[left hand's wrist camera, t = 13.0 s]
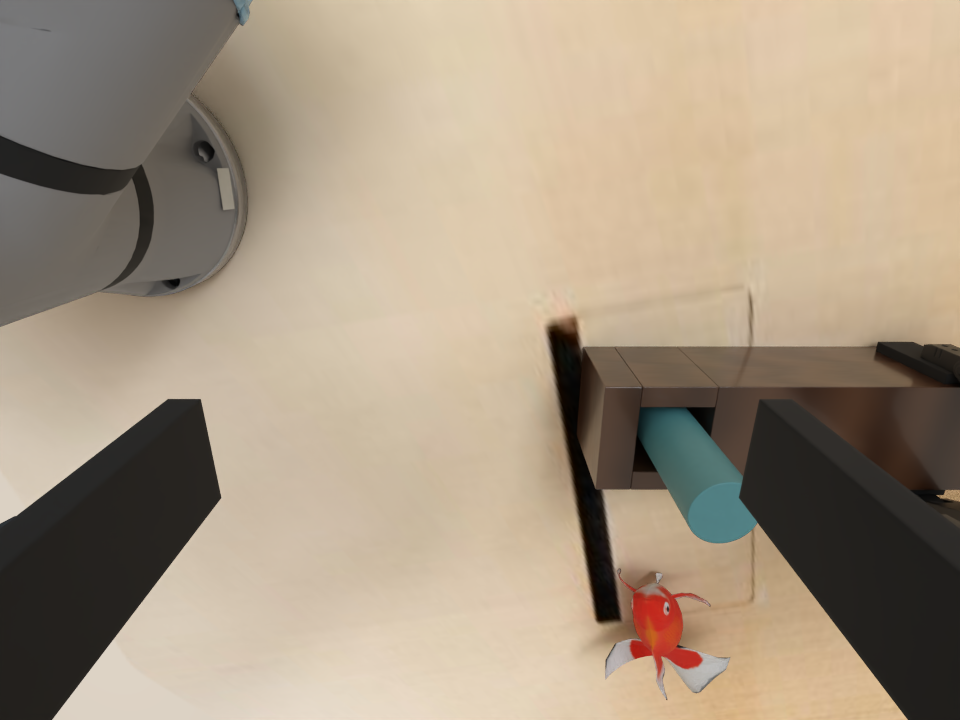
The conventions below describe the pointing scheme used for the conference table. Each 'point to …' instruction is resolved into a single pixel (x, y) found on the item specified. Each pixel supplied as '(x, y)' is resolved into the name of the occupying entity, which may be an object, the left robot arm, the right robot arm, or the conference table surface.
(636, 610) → the fish
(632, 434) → the walnut block
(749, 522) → the teal peg
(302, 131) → the conference table surface
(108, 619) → the left robot arm
